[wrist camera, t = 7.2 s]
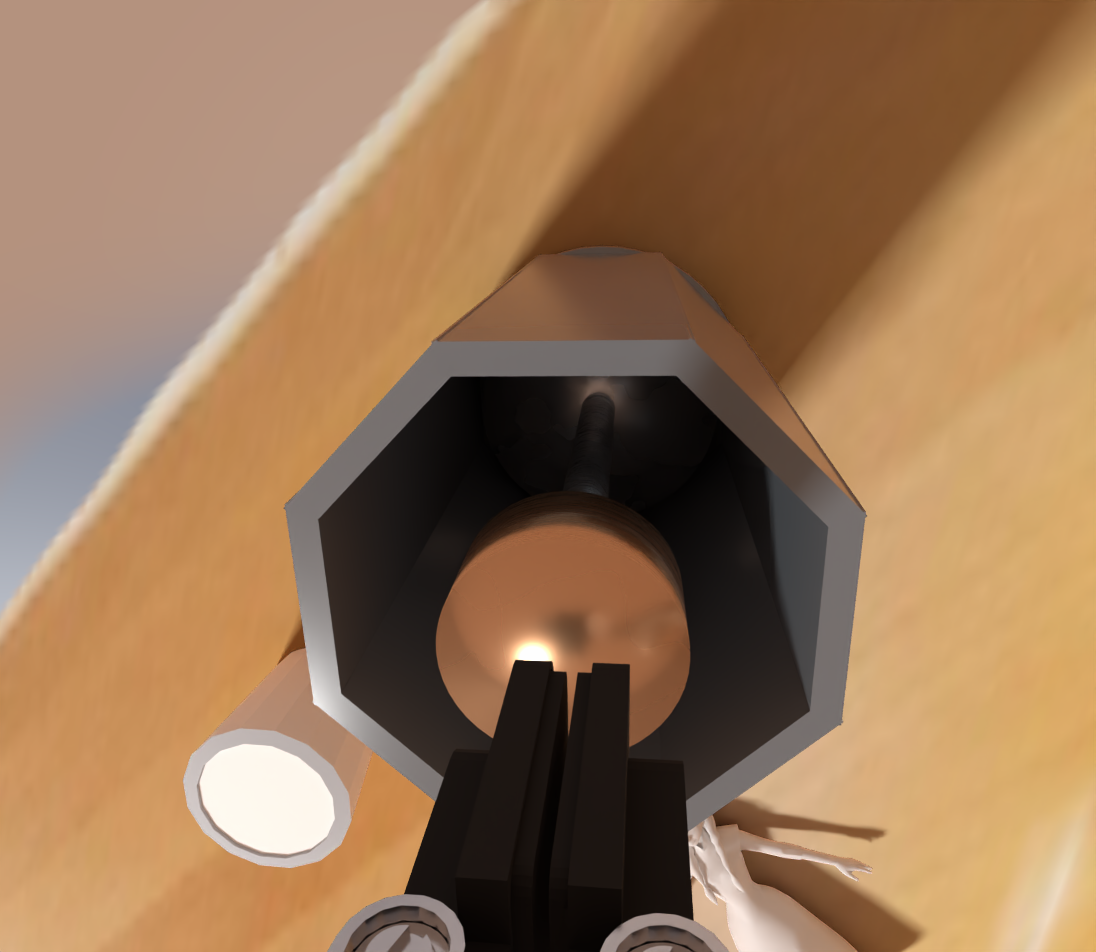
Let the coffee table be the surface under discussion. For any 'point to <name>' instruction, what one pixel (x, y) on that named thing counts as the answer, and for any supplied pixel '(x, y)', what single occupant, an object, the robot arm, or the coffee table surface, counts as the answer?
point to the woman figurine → (761, 891)
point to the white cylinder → (278, 774)
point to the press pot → (682, 518)
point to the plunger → (577, 543)
